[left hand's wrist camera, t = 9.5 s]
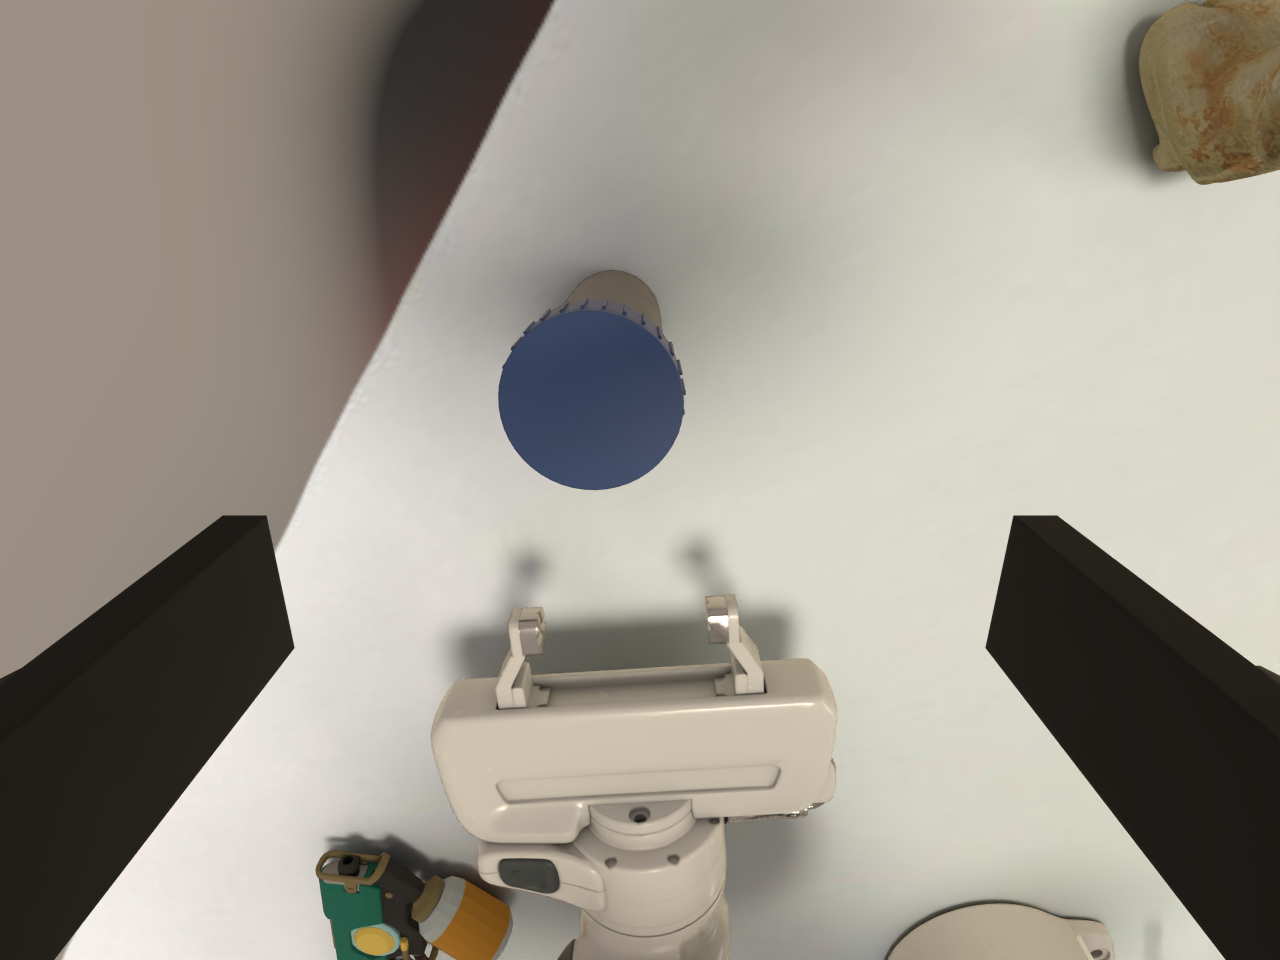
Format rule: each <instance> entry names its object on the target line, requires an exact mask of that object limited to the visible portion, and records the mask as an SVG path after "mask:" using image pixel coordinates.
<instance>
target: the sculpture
mask: <svg viewBox="0 0 1280 960" xmlns="http://www.w3.org/2000/svg"><path fill="white" fill-rule="evenodd" d="M1139 73H1140V79H1141V85H1142V89H1143V92H1144V96H1145V99H1146V103H1147V106H1148V109H1149V111H1150V114H1151V117H1152V119H1153V122H1154V124H1155V127H1156V130H1157V133H1158V136H1159V141H1160V143H1159V144H1158V145H1156V146H1155V148H1154V149H1153V158H1154V162H1155V164H1156V165H1157V167H1158V168H1159V169H1160V170H1163V171H1174V172H1176V171H1182V170H1187V172H1188V173H1189V175H1190V176H1191V178H1192V179H1193V180H1194V181H1195V182H1196V183H1198V184H1200V185H1207V184H1211V183H1221V182H1227V181H1232V180H1237V179H1242V178H1247V177H1252V176H1257V175H1261V174H1265V173H1269V172H1273V171H1276V170H1280V0H1206V1H1205V2H1204V4H1203V5H1202V6H1199V5H1196V4H1194V3H1191V2H1190V3H1186V4H1183V5H1180V6H1177V7H1175V8H1173V9H1171V10H1169V11H1168V12H1166V13H1165V14H1164V15H1162V16H1161V17H1160V18H1159V19H1158V20H1157V21H1155V22H1154V23H1153V25H1152V26H1151V27H1150V28H1149V30H1148V31H1147V33H1146V35H1145V37H1144V40H1143V42H1142V46H1141V50H1140V56H1139Z"/></svg>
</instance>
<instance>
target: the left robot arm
mask: <svg viewBox="0 0 1280 960" xmlns="http://www.w3.org/2000/svg"><path fill="white" fill-rule="evenodd" d="M293 649H294V643H293V638H292V634H291V629H290V624H289V619H288V615H287V610H286V605H285V601H284V596H283V591H282V586H281V582H280V577H279V572H278V568H277V563H276V558H275V553H274V549H273V544H272V539H271V535H270V530H269V525H268V520H267V516H222V517H220V518H219V519H218V520H216V521H215V522H214V523H212V524H211V525H210V526H209V527H207V528H206V529H205V530H203V531H202V532H201V533H199V534H198V535H197V536H195V537H194V538H193V539H191V540H190V541H189V542H187V543H186V544H185V545H183V546H182V547H181V548H180V549H178V550H177V551H176V552H174V553H173V554H172V555H170V556H169V557H168V558H166V559H165V560H164V561H162V562H161V563H160V564H158V565H157V566H156V567H154V568H153V569H152V570H150V571H149V572H148V573H146V574H145V575H144V576H143V577H141V578H140V579H139V580H137V581H136V582H135V583H133V584H132V585H131V586H129V587H128V588H127V589H125V590H124V591H123V592H121V593H120V594H119V595H117V596H116V597H115V598H113V599H112V600H111V601H110V602H108V603H107V604H106V605H104V606H103V607H102V608H100V609H99V610H98V611H96V612H95V613H94V614H92V615H91V616H90V617H88V618H87V619H86V620H84V621H83V622H82V623H81V624H79V625H78V626H77V627H75V628H74V629H73V630H71V631H70V632H69V633H67V634H66V635H65V636H63V637H62V638H61V639H59V640H58V641H57V642H55V643H54V644H53V645H51V646H50V647H49V648H48V649H46V650H45V651H44V652H42V653H41V654H40V655H38V656H37V657H36V658H34V659H33V660H32V661H30V662H29V663H28V664H26V665H25V666H24V667H22V668H21V669H19V670H17V671H15V672H13V673H11V674H9V675H7V676H5V677H3V678H1V679H0V960H54V959H55V958H56V957H57V956H58V954H59V953H60V952H61V950H62V949H63V948H64V946H65V945H66V944H67V943H68V941H69V940H70V939H71V937H72V936H73V935H74V934H75V932H76V931H77V930H78V928H79V927H80V926H81V924H82V923H83V922H84V921H85V919H86V918H87V917H88V915H89V914H90V913H91V911H92V910H93V909H94V908H95V906H96V905H97V904H98V902H99V901H100V900H101V898H102V897H103V896H104V895H105V893H106V892H107V891H108V889H109V888H110V887H111V885H112V884H113V883H114V882H115V880H116V879H117V878H118V876H119V875H120V874H121V872H122V871H123V870H124V869H125V867H126V866H127V865H128V863H129V862H130V861H131V860H132V858H133V857H134V856H135V854H136V853H137V852H138V850H139V849H140V848H141V847H142V845H143V844H144V843H145V841H146V840H147V839H148V837H149V836H150V835H151V834H152V832H153V831H154V830H155V828H156V827H157V826H158V824H159V823H160V822H161V821H162V819H163V818H164V817H165V815H166V814H167V813H168V811H169V810H170V809H171V808H172V806H173V805H174V804H175V802H176V801H177V800H178V798H179V797H180V796H181V795H182V793H183V792H184V791H185V789H186V788H187V787H188V786H189V784H190V783H191V782H192V780H193V779H194V778H195V776H196V775H197V774H198V773H199V771H200V770H201V769H202V767H203V766H204V765H205V763H206V762H207V761H208V760H209V758H210V757H211V756H212V754H213V753H214V752H215V750H216V749H217V748H218V747H219V745H220V744H221V743H222V741H223V740H224V739H225V737H226V736H227V735H228V734H229V732H230V731H231V730H232V728H233V727H234V726H235V725H236V723H237V722H238V721H239V719H240V718H241V717H242V715H243V714H244V713H245V712H246V710H247V709H248V708H249V706H250V705H251V704H252V702H253V701H254V700H255V699H256V697H257V696H258V695H259V693H260V692H261V691H262V689H263V688H264V687H265V686H266V684H267V683H268V682H269V680H270V679H271V678H272V676H273V675H274V674H275V673H276V671H277V670H278V669H279V667H280V666H281V665H282V663H283V662H284V661H285V660H286V658H287V657H288V656H289V654H290V653H291V652H292V651H293ZM986 649H987V651H988V652H989V653H990V654H991V656H992V657H993V658H994V660H995V661H996V662H997V663H998V665H999V666H1000V667H1001V669H1002V670H1003V671H1004V673H1005V674H1006V675H1007V676H1008V678H1009V679H1010V680H1011V682H1012V683H1013V684H1014V686H1015V687H1016V688H1017V689H1018V691H1019V692H1020V693H1021V695H1022V696H1023V697H1024V699H1025V700H1026V701H1027V702H1028V704H1029V705H1030V706H1031V708H1032V709H1033V710H1034V712H1035V713H1036V714H1037V715H1038V717H1039V718H1040V719H1041V721H1042V722H1043V723H1044V725H1045V726H1046V727H1047V728H1048V730H1049V731H1050V732H1051V734H1052V735H1053V736H1054V737H1055V739H1056V740H1057V741H1058V743H1059V744H1060V745H1061V747H1062V748H1063V749H1064V750H1065V752H1066V753H1067V754H1068V756H1069V757H1070V758H1071V760H1072V761H1073V762H1074V763H1075V765H1076V766H1077V767H1078V769H1079V770H1080V771H1081V773H1082V774H1083V775H1084V776H1085V778H1086V779H1087V780H1088V782H1089V783H1090V784H1091V786H1092V787H1093V788H1094V789H1095V791H1096V792H1097V793H1098V795H1099V796H1100V797H1101V799H1102V800H1103V801H1104V802H1105V804H1106V805H1107V806H1108V808H1109V809H1110V810H1111V811H1112V813H1113V814H1114V815H1115V817H1116V818H1117V819H1118V821H1119V822H1120V823H1121V824H1122V826H1123V827H1124V828H1125V830H1126V831H1127V832H1128V834H1129V835H1130V836H1131V837H1132V839H1133V840H1134V841H1135V843H1136V844H1137V845H1138V847H1139V848H1140V849H1141V850H1142V852H1143V853H1144V854H1145V856H1146V857H1147V858H1148V860H1149V861H1150V862H1151V863H1152V865H1153V866H1154V867H1155V869H1156V870H1157V871H1158V873H1159V874H1160V875H1161V876H1162V878H1163V879H1164V880H1165V882H1166V883H1167V884H1168V885H1169V887H1170V888H1171V889H1172V891H1173V892H1174V893H1175V895H1176V896H1177V897H1178V898H1179V900H1180V901H1181V902H1182V904H1183V905H1184V906H1185V908H1186V909H1187V910H1188V911H1189V913H1190V914H1191V915H1192V917H1193V918H1194V919H1195V921H1196V922H1197V923H1198V924H1199V926H1200V927H1201V928H1202V930H1203V931H1204V932H1205V934H1206V935H1207V936H1208V937H1209V939H1210V940H1211V941H1212V943H1213V944H1214V945H1215V946H1216V948H1217V949H1218V950H1219V952H1220V953H1221V954H1222V956H1223V957H1224V958H1225V959H1226V960H1280V676H1279V675H1277V674H1275V673H1273V672H1271V671H1269V670H1267V669H1265V668H1263V667H1262V666H1255V665H1254V664H1252V663H1251V662H1250V661H1248V660H1247V659H1246V658H1244V657H1243V656H1242V655H1240V654H1239V653H1238V652H1236V651H1235V650H1234V649H1232V648H1231V647H1230V646H1229V645H1227V644H1226V643H1225V642H1223V641H1222V640H1221V639H1219V638H1218V637H1217V636H1215V635H1214V634H1213V633H1211V632H1210V631H1209V630H1207V629H1206V628H1205V627H1203V626H1202V625H1201V624H1199V623H1198V622H1197V621H1196V620H1194V619H1193V618H1192V617H1190V616H1189V615H1188V614H1186V613H1185V612H1184V611H1182V610H1181V609H1180V608H1178V607H1177V606H1176V605H1174V604H1173V603H1172V602H1170V601H1169V600H1168V599H1167V598H1165V597H1164V596H1163V595H1161V594H1160V593H1159V592H1157V591H1156V590H1155V589H1153V588H1152V587H1151V586H1149V585H1148V584H1147V583H1145V582H1144V581H1143V580H1141V579H1140V578H1139V577H1137V576H1136V575H1135V574H1134V573H1132V572H1131V571H1130V570H1128V569H1127V568H1126V567H1124V566H1123V565H1122V564H1120V563H1119V562H1118V561H1116V560H1115V559H1114V558H1112V557H1111V556H1110V555H1108V554H1107V553H1106V552H1105V551H1103V550H1102V549H1101V548H1099V547H1098V546H1097V545H1095V544H1094V543H1093V542H1091V541H1090V540H1089V539H1087V538H1086V537H1085V536H1083V535H1082V534H1081V533H1079V532H1078V531H1077V530H1075V529H1074V528H1073V527H1072V526H1070V525H1069V524H1068V523H1066V522H1065V521H1064V520H1062V519H1061V518H1060V517H1058V516H1013V520H1012V525H1011V530H1010V534H1009V539H1008V544H1007V549H1006V553H1005V558H1004V563H1003V568H1002V572H1001V577H1000V582H999V586H998V591H997V596H996V601H995V605H994V610H993V615H992V619H991V624H990V629H989V634H988V638H987V643H986Z"/></svg>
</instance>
